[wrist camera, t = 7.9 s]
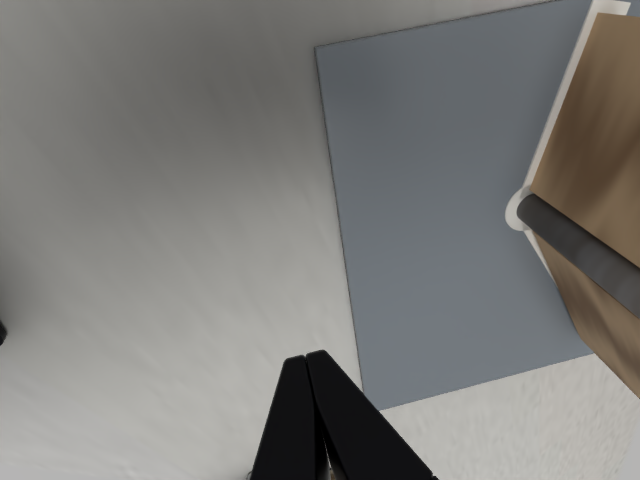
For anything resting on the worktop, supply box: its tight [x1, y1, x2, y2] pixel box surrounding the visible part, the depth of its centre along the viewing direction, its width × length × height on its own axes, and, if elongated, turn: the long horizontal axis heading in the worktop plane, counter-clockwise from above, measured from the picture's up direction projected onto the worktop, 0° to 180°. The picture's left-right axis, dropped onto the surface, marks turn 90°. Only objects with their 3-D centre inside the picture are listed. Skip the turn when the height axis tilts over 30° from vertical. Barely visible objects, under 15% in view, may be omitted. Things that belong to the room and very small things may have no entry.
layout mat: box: [314, 0, 640, 411], centre depth 24 cm, size 18×23×1 cm
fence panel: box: [533, 231, 640, 399], centre depth 22 cm, size 11×1×9 cm, turn 34°
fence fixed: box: [516, 13, 640, 319], centre depth 17 cm, size 2×10×10 cm, turn 173°
